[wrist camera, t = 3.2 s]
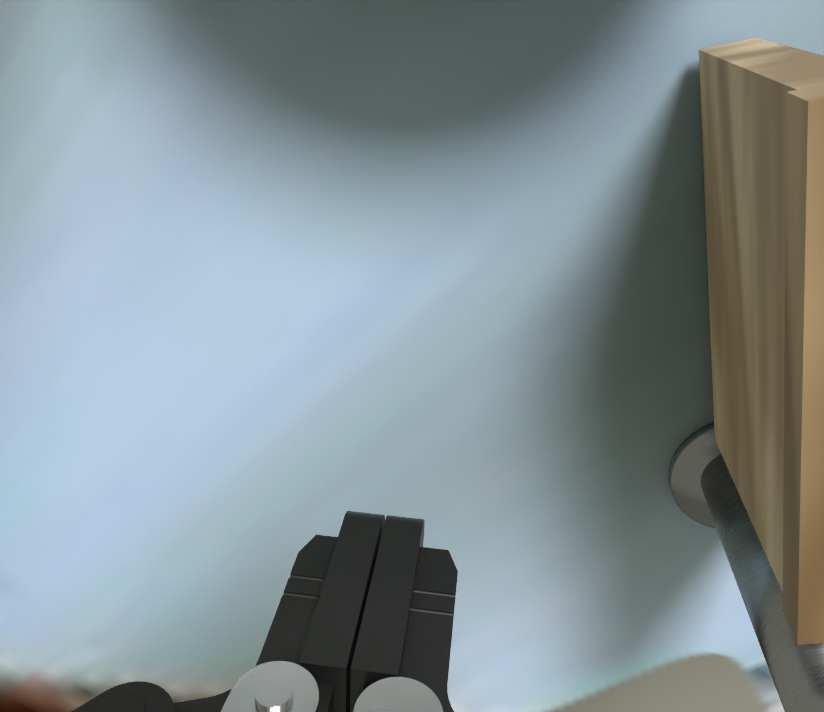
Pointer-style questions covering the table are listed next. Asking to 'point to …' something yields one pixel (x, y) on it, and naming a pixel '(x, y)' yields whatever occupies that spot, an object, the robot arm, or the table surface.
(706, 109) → the gate
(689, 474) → the hinge post
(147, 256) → the table surface
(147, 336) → the table surface
